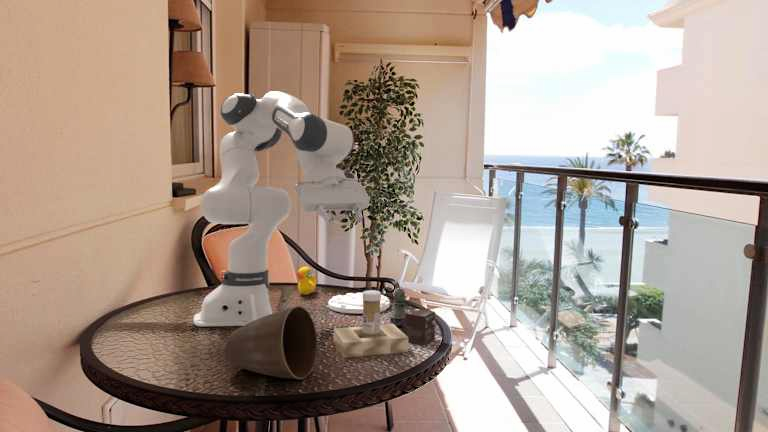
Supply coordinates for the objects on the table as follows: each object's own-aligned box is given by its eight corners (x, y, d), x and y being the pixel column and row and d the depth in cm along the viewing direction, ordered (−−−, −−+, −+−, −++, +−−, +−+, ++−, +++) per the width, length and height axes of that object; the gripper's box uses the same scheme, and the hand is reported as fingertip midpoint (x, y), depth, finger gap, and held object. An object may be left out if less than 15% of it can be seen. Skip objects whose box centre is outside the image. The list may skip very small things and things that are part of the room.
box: (424, 345, 130) (425, 316, 129) (403, 341, 133) (404, 313, 132) (435, 338, 135) (435, 311, 134) (415, 335, 138) (415, 308, 138)
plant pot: (209, 379, 103) (280, 374, 98) (218, 306, 109) (285, 298, 104) (251, 386, 116) (315, 383, 111) (257, 321, 122) (318, 314, 117)
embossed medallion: (316, 307, 168) (316, 298, 168) (364, 297, 181) (364, 289, 181) (353, 319, 153) (353, 310, 153) (402, 308, 166) (402, 299, 166)
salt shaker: (407, 332, 140) (408, 288, 139) (386, 330, 142) (387, 287, 141) (410, 326, 146) (411, 284, 145) (390, 324, 147) (391, 283, 146)
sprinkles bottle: (358, 345, 128) (358, 292, 127) (370, 340, 132) (370, 288, 131) (372, 349, 125) (373, 294, 124) (384, 344, 129) (384, 291, 128)
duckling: (304, 298, 178) (304, 269, 177) (291, 297, 180) (291, 268, 179) (320, 291, 188) (320, 264, 188) (307, 290, 190) (307, 263, 189)
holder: (343, 357, 120) (343, 343, 120) (333, 341, 131) (333, 328, 131) (408, 351, 125) (408, 337, 124) (393, 336, 136) (393, 323, 136)
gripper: (296, 173, 135) (314, 213, 128) (360, 174, 147) (380, 211, 140) (288, 190, 139) (305, 229, 132) (352, 189, 151) (370, 225, 144)
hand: (344, 220), depth 136 cm, fingers open, 8 cm apart
